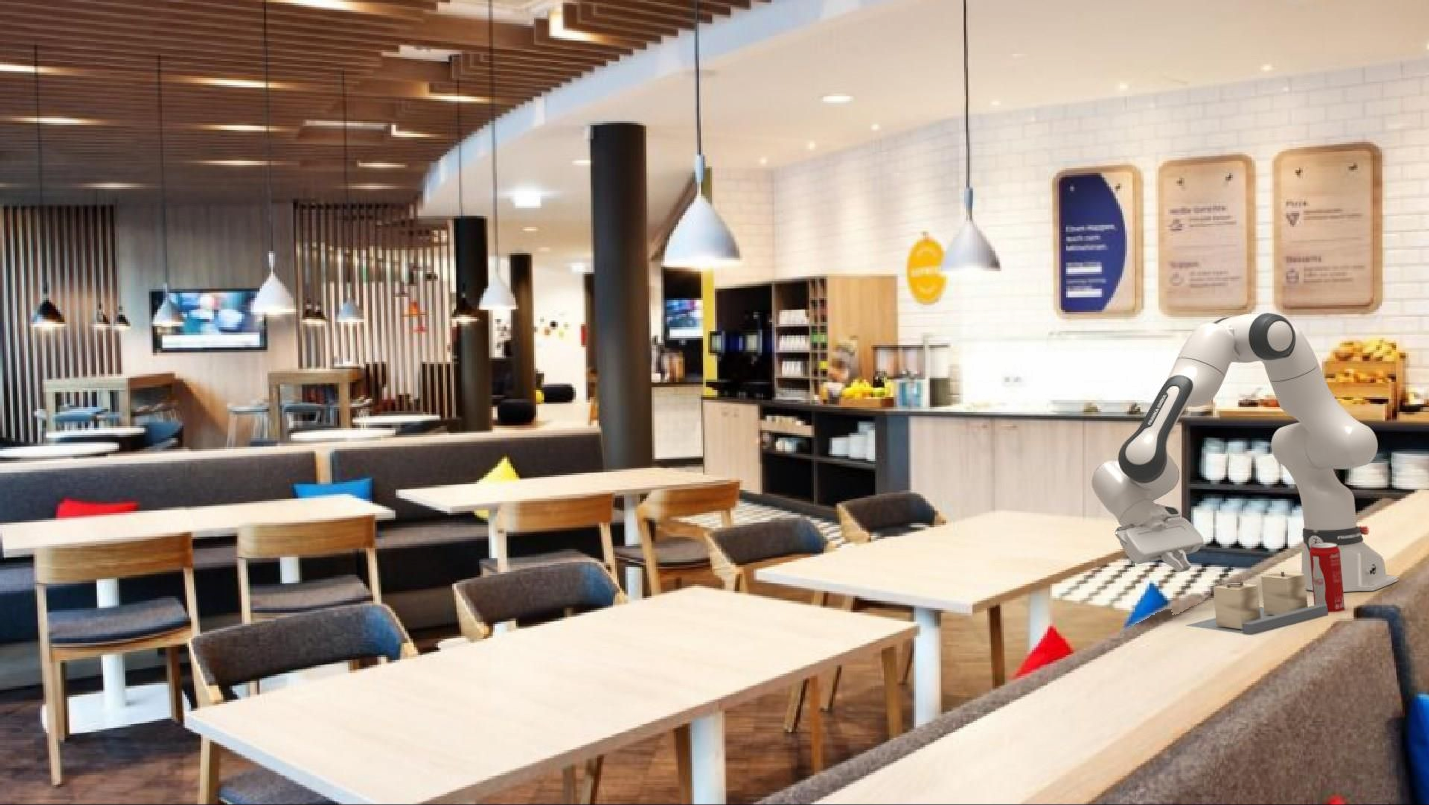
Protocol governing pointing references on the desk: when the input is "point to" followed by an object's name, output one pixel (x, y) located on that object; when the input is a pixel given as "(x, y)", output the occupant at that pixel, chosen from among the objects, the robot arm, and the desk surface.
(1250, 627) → the grey ledged board
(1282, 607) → the wooden number block 1
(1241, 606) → the wooden digit block 2
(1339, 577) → the beverage can
